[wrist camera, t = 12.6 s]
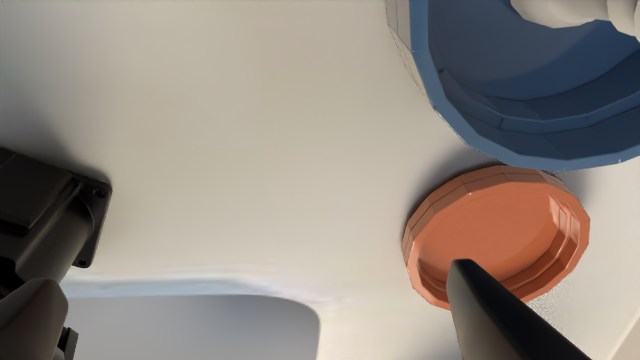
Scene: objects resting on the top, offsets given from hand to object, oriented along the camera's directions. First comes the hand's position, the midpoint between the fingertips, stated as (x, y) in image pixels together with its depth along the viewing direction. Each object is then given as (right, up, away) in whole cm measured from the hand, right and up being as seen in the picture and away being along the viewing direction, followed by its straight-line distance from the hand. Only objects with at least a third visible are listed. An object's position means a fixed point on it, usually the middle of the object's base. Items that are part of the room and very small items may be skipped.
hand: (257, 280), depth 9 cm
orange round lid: (+11, -1, +16) cm, 19 cm away
